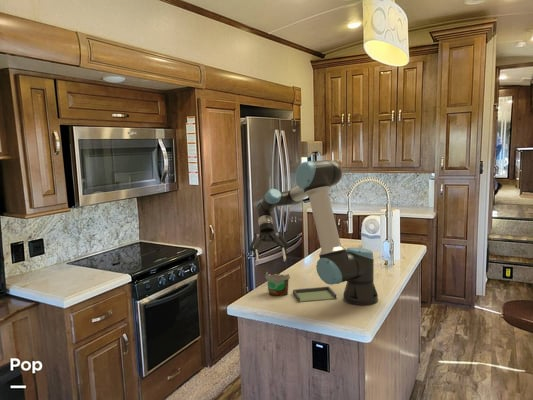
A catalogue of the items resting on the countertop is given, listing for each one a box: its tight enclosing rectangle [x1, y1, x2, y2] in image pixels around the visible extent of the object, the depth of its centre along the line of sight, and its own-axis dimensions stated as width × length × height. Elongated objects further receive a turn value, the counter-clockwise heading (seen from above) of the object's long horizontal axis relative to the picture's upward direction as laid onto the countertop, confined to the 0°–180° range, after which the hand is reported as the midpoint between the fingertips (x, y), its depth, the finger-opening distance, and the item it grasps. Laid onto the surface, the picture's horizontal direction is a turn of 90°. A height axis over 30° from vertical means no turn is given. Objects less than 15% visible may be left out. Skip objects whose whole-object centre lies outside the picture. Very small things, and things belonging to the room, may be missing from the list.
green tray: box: [292, 286, 338, 303], centre depth 190 cm, size 12×18×2 cm, turn 98°
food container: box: [265, 271, 291, 298], centre depth 194 cm, size 12×6×10 cm, turn 62°
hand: (271, 261), depth 203 cm, fingers open, 13 cm apart
